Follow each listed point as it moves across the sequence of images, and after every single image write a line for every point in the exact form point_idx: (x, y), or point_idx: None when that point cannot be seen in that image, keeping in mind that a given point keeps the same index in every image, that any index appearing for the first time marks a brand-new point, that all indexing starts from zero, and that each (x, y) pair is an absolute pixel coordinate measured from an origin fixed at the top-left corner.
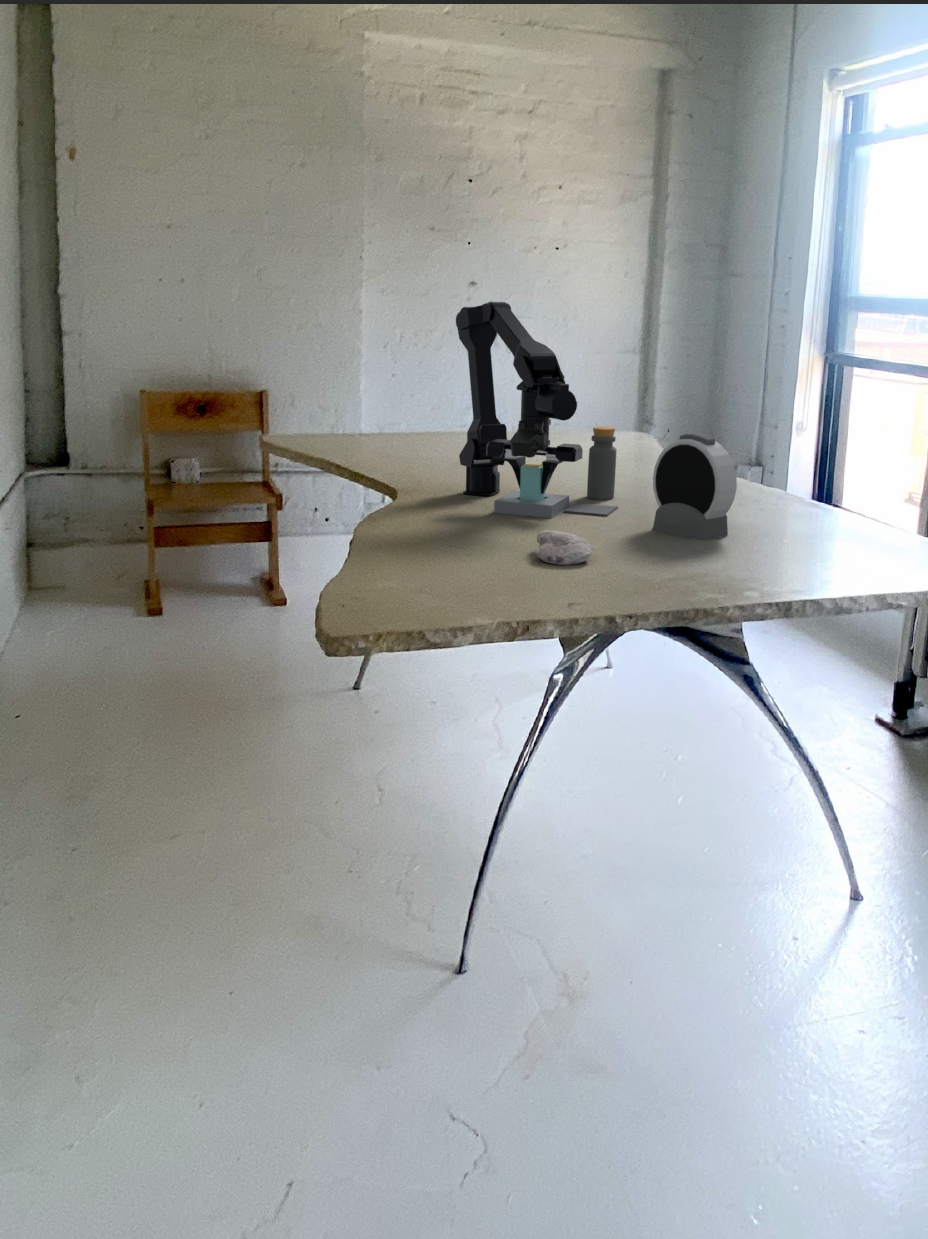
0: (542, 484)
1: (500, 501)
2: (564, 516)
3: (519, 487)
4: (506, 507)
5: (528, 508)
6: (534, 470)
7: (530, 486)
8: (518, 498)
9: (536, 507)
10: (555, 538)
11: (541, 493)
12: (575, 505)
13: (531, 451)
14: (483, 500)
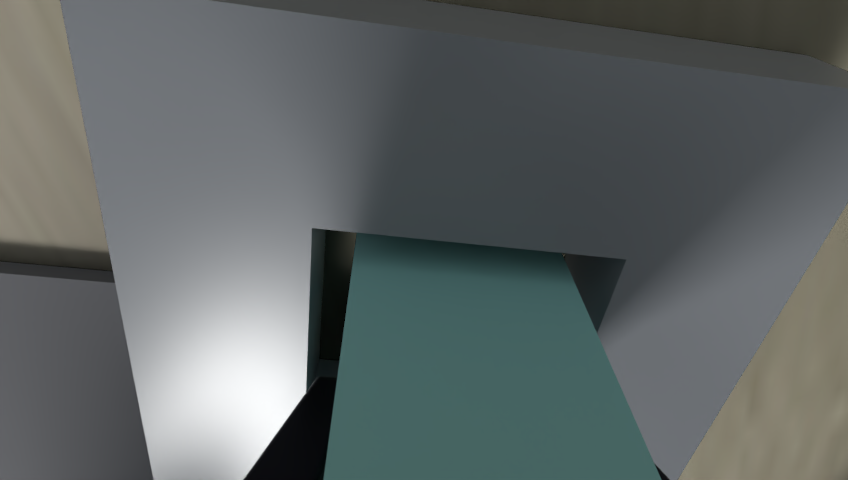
0: (304, 462)
1: (830, 82)
2: (61, 118)
3: None
4: (711, 54)
5: (428, 15)
6: None
7: (474, 393)
8: None
9: (313, 3)
10: None
11: (336, 377)
12: (146, 461)
13: None
14: (819, 464)
